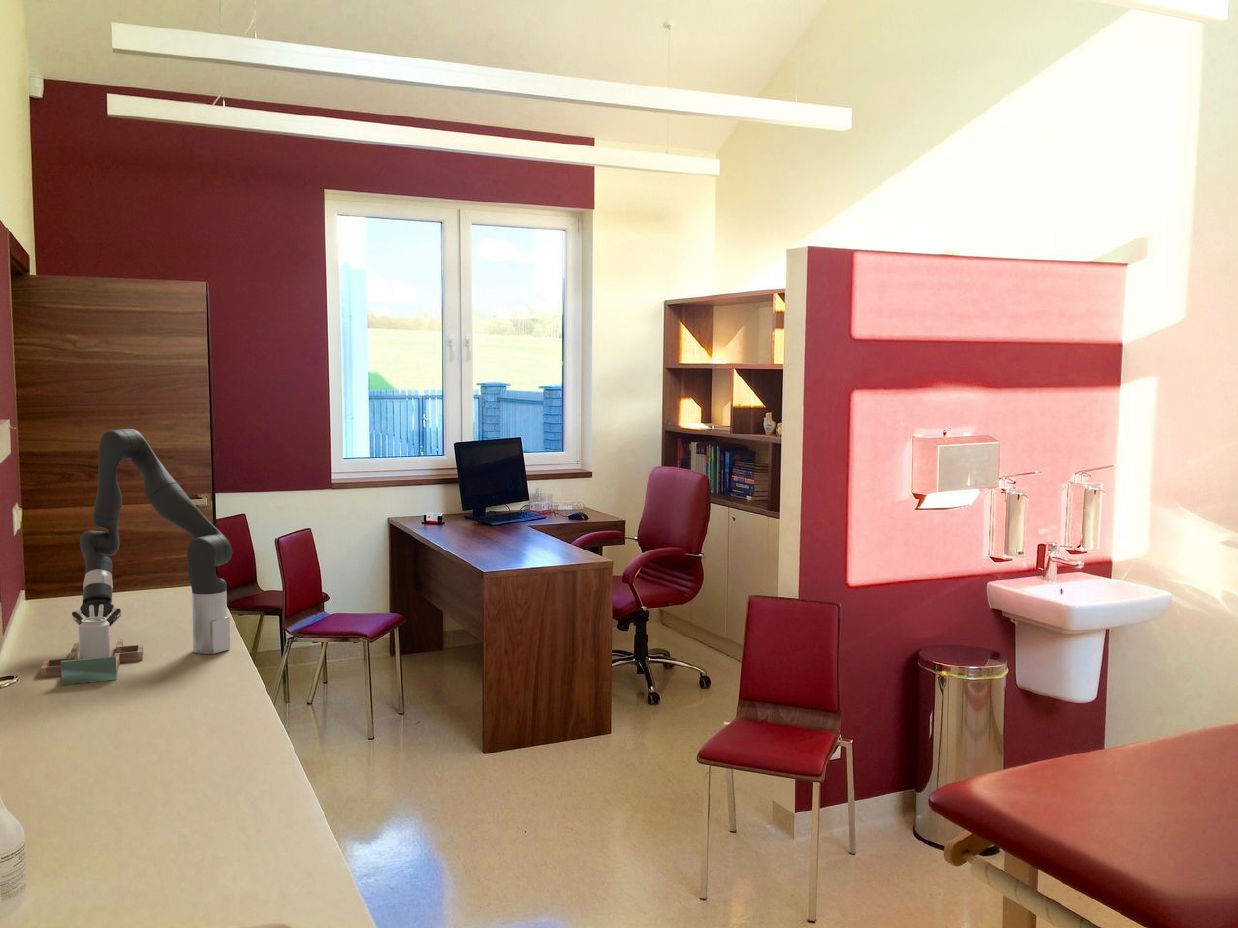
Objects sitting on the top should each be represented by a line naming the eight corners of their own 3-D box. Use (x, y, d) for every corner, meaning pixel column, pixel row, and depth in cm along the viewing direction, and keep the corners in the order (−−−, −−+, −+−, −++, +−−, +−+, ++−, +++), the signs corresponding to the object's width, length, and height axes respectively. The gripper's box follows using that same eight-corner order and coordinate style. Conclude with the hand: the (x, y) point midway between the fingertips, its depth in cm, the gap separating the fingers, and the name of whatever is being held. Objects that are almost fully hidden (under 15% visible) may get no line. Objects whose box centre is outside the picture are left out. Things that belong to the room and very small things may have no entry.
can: (116, 658, 278) (114, 615, 277) (100, 665, 271) (99, 622, 270) (90, 657, 279) (88, 615, 278) (73, 664, 271) (72, 621, 270)
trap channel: (52, 653, 283) (51, 632, 282) (144, 645, 292) (143, 624, 292) (36, 687, 251) (35, 664, 250) (140, 677, 260) (139, 654, 260)
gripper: (70, 583, 283) (67, 635, 273) (122, 580, 288) (121, 631, 278) (73, 597, 288) (70, 649, 278) (124, 594, 294) (122, 645, 283)
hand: (95, 640), depth 278 cm, fingers closed
